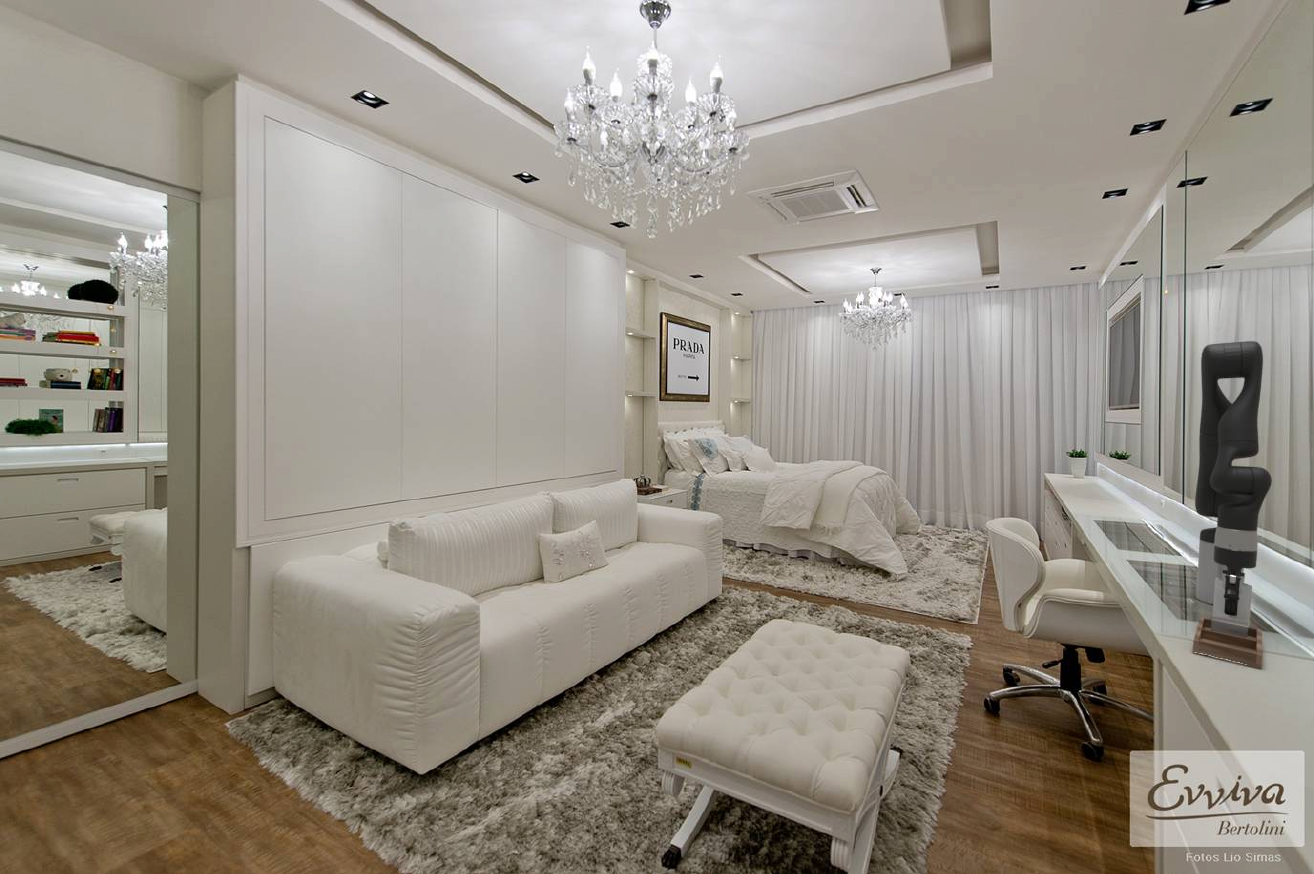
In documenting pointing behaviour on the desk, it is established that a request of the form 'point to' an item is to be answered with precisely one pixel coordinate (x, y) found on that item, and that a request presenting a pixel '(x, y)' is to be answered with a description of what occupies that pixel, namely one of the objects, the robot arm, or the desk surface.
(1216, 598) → the skincare box
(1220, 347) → the robot arm
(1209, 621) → the wooden divided tray
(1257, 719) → the desk surface
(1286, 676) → the desk surface
